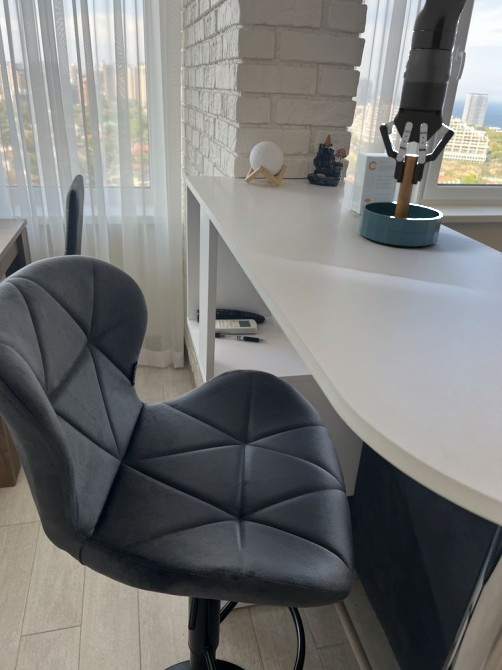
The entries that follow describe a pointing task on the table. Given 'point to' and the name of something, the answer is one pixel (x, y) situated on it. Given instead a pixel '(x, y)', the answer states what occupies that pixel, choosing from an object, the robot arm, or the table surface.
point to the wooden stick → (406, 186)
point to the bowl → (400, 224)
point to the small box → (373, 180)
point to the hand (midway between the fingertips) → (406, 182)
